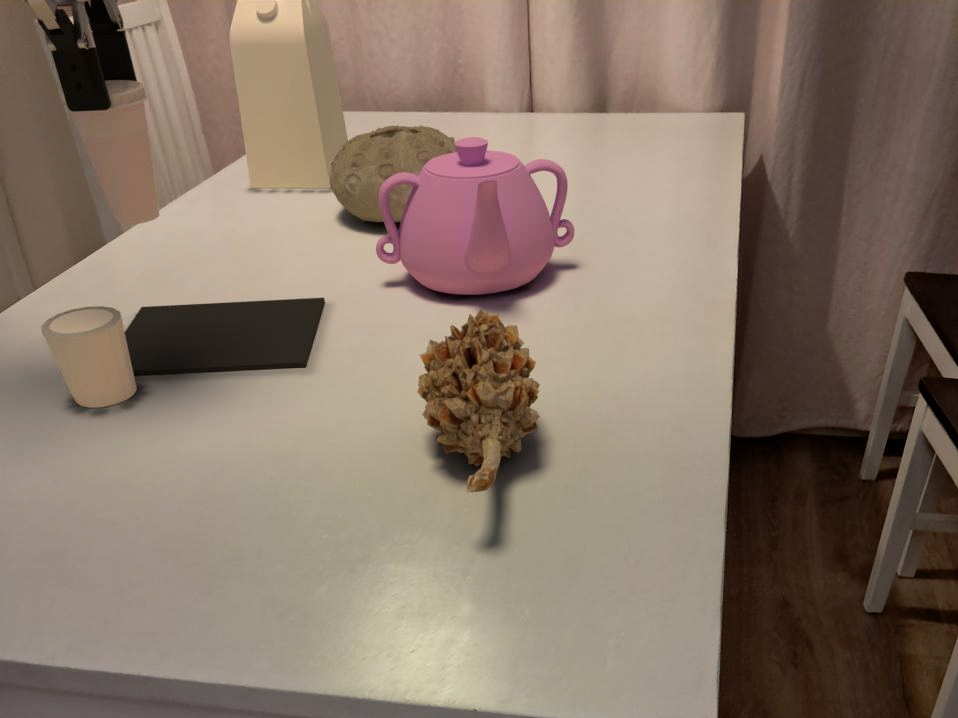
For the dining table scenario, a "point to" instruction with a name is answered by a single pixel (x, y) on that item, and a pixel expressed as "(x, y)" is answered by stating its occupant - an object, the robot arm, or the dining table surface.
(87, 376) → the cream candle
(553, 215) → the teapot
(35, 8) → the robot arm
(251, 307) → the mat
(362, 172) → the decorative shell
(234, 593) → the dining table surface
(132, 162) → the smoothie
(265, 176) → the milk
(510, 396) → the pine cone
